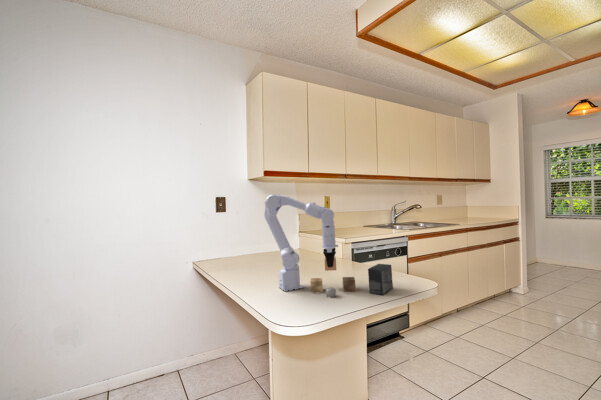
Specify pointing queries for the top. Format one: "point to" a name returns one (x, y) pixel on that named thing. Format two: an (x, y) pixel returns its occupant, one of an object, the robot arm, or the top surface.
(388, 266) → the small box
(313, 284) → the oak block
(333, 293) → the grey tin
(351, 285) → the walnut block
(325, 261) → the terracotta block
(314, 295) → the top surface
